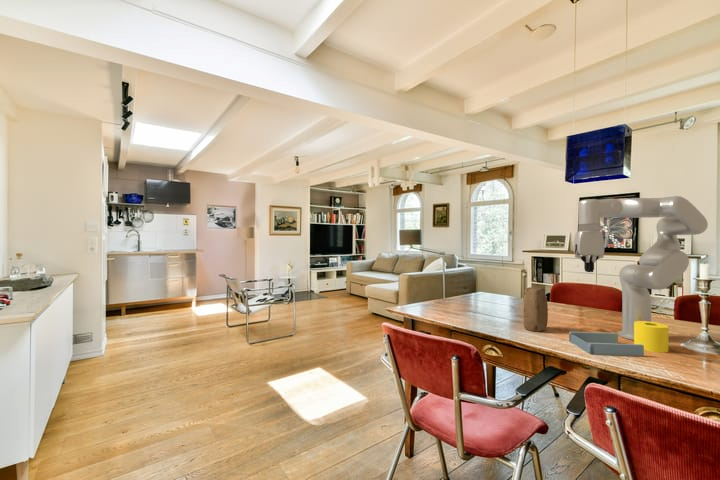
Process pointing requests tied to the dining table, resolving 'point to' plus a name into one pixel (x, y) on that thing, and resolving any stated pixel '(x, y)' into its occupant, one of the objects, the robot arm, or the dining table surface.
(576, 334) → the grey shallow tray
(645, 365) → the dining table surface
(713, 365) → the dining table surface
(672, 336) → the dining table surface
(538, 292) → the block
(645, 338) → the tape roll
